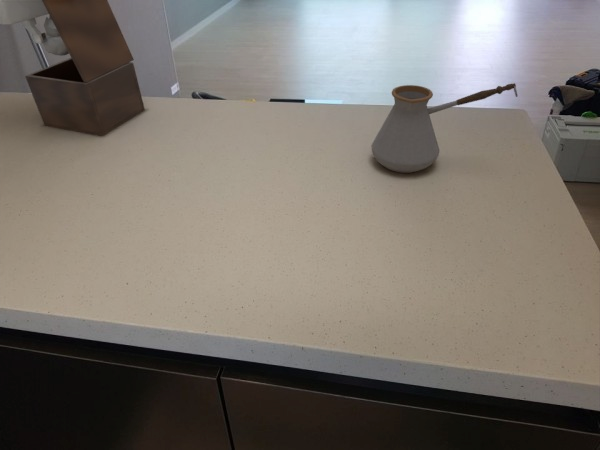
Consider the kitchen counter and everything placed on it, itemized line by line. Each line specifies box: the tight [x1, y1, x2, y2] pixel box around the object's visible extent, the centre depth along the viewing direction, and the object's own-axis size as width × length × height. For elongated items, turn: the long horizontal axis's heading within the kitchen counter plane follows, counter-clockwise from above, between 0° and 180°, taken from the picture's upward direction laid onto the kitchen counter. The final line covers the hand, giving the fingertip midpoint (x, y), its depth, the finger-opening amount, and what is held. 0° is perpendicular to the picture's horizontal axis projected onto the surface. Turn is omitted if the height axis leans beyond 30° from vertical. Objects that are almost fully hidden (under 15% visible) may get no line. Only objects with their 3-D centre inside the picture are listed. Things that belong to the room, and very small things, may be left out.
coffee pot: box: [371, 82, 518, 174], centre depth 75 cm, size 21×12×15 cm, turn 78°
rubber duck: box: [42, 14, 70, 56], centre depth 88 cm, size 5×7×8 cm
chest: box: [24, 57, 146, 137], centre depth 95 cm, size 16×14×11 cm
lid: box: [42, 0, 135, 83], centre depth 84 cm, size 16×14×5 cm
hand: (54, 38), depth 89 cm, fingers closed on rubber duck, 5 cm apart
